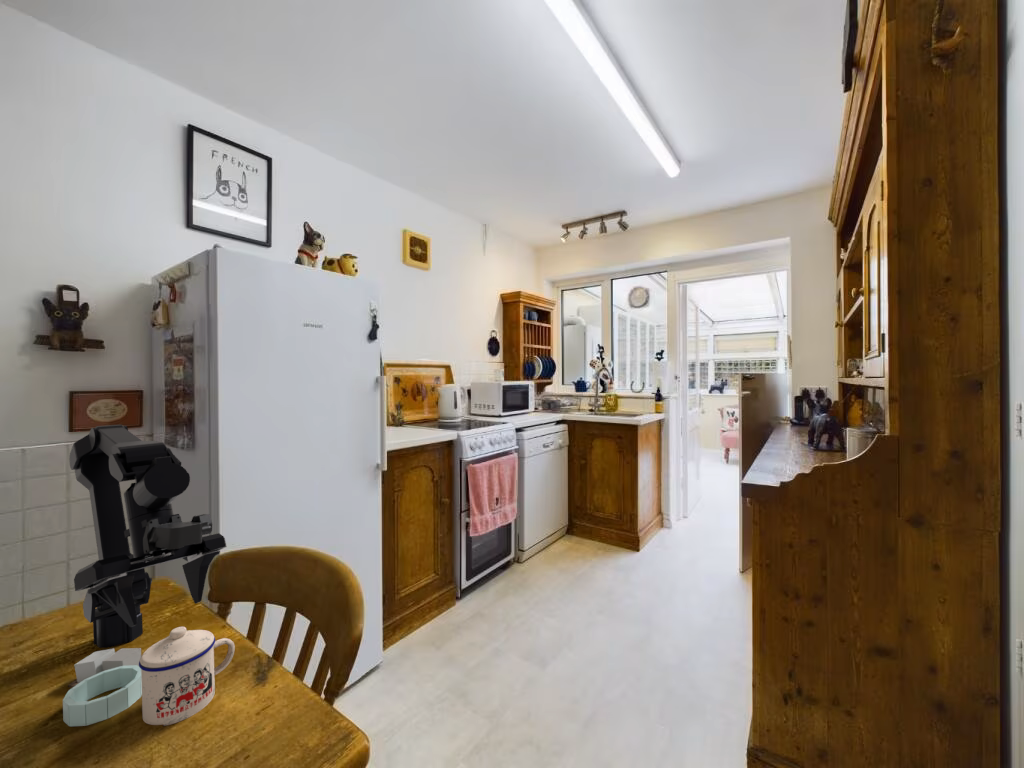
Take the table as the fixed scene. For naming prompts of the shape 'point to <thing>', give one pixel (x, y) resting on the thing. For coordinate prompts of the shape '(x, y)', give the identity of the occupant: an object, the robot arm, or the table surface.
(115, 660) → the grey cube
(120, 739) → the table surface
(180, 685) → the teacup with lid
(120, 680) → the bowl
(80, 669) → the light grey cube
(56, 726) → the table surface
